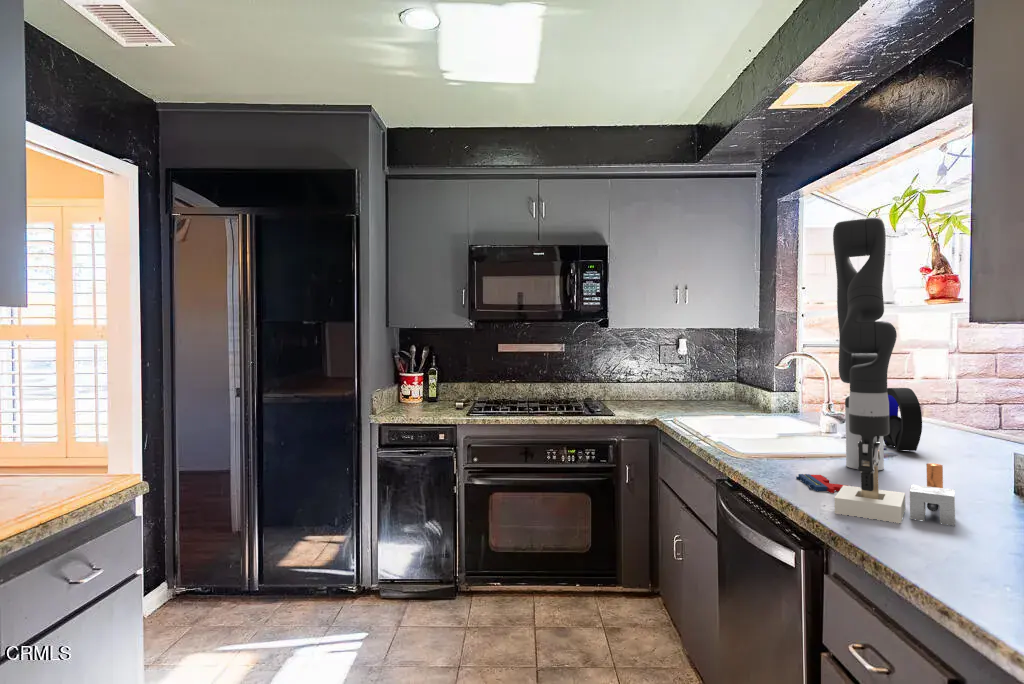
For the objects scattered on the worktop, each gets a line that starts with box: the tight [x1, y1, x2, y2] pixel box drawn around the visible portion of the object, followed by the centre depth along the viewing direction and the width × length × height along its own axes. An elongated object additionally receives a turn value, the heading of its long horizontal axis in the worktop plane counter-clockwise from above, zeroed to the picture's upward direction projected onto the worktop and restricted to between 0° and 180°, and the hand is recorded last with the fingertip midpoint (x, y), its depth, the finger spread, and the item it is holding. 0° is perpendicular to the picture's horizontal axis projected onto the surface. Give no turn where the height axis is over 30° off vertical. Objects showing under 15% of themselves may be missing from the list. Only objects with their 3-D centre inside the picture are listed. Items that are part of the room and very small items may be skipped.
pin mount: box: [909, 484, 956, 527], centre depth 120 cm, size 7×6×6 cm
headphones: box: [883, 387, 923, 452], centre depth 186 cm, size 18×7×20 cm, turn 167°
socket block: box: [834, 484, 906, 524], centre depth 126 cm, size 12×12×4 cm
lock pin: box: [926, 462, 944, 512], centre depth 127 cm, size 3×16×8 cm, turn 142°
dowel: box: [861, 464, 879, 500], centre depth 126 cm, size 3×3×10 cm
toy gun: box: [795, 473, 849, 494], centre depth 147 cm, size 15×2×10 cm
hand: (869, 485), depth 126 cm, fingers open, 8 cm apart
